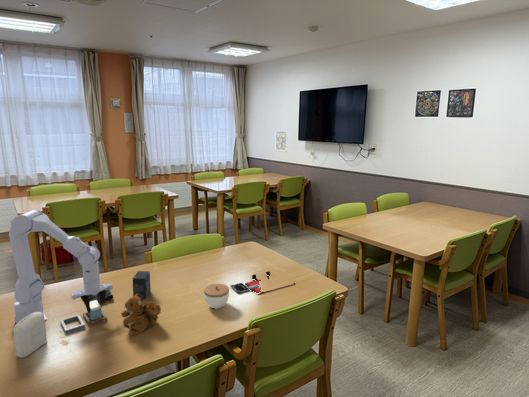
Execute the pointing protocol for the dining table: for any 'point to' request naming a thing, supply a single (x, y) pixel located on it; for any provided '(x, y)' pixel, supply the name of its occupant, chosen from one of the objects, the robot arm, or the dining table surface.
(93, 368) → the dining table surface
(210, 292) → the lidded jar
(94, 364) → the dining table surface
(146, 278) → the box
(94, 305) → the plug
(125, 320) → the stuffed squirrel
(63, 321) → the gray square tray
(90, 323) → the brown square frame
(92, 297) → the electronic device
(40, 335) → the photo printer
